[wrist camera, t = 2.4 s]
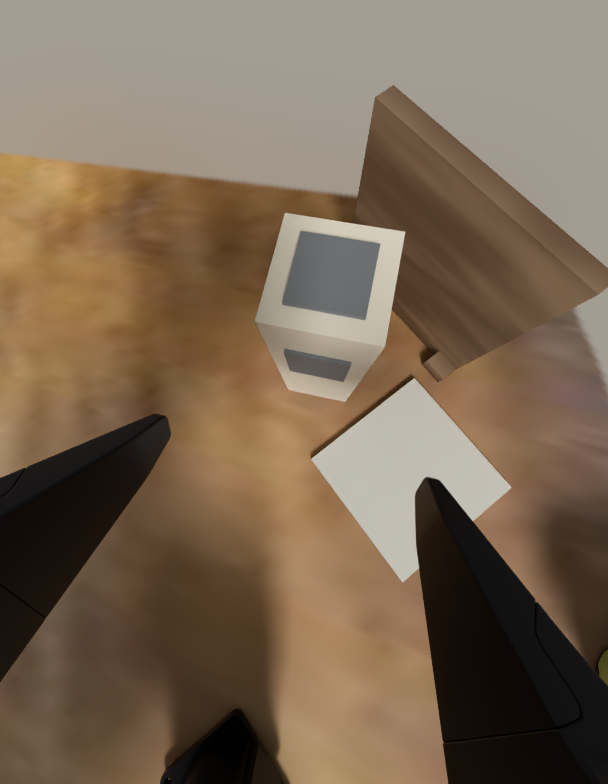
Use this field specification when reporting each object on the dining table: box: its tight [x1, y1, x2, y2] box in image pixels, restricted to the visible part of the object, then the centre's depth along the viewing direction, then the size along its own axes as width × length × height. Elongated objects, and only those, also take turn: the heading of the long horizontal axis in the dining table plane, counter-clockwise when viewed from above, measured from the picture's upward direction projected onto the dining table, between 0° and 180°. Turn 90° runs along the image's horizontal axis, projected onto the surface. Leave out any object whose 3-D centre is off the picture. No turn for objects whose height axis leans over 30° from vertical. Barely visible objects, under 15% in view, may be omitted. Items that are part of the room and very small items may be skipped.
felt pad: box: [311, 378, 512, 582], centre depth 21 cm, size 11×11×1 cm
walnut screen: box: [353, 85, 608, 382], centre depth 18 cm, size 4×14×12 cm, turn 37°
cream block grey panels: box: [255, 213, 405, 402], centre depth 17 cm, size 5×5×13 cm
